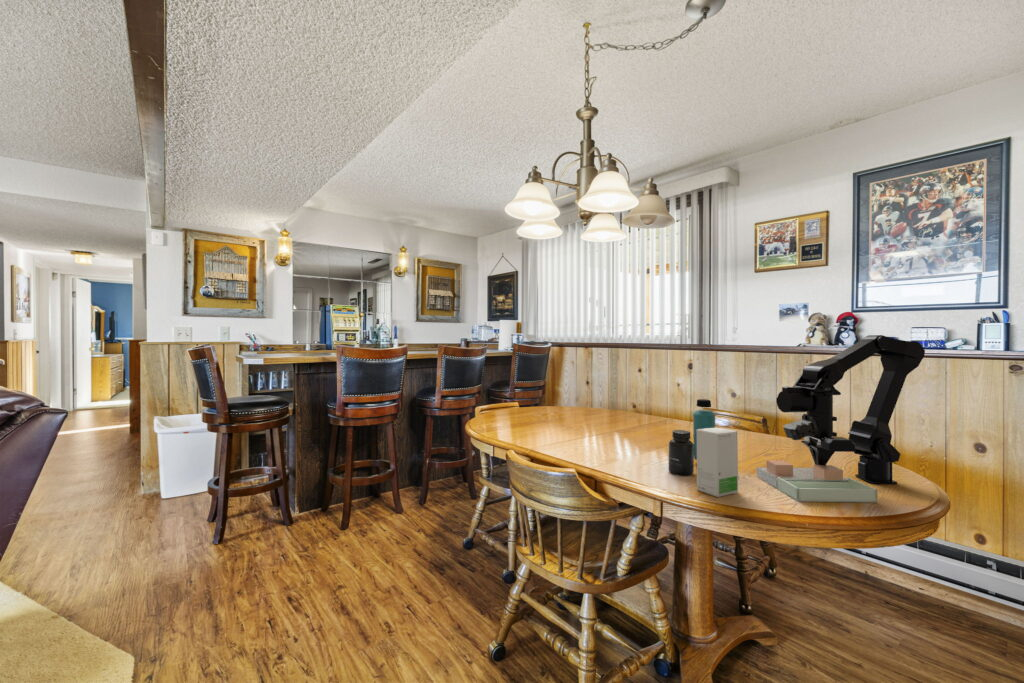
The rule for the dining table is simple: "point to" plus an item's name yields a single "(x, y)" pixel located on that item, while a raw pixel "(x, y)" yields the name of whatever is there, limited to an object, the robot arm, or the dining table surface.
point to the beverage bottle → (702, 420)
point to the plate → (792, 476)
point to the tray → (828, 491)
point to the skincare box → (717, 461)
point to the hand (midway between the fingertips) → (819, 469)
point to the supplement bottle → (681, 454)
